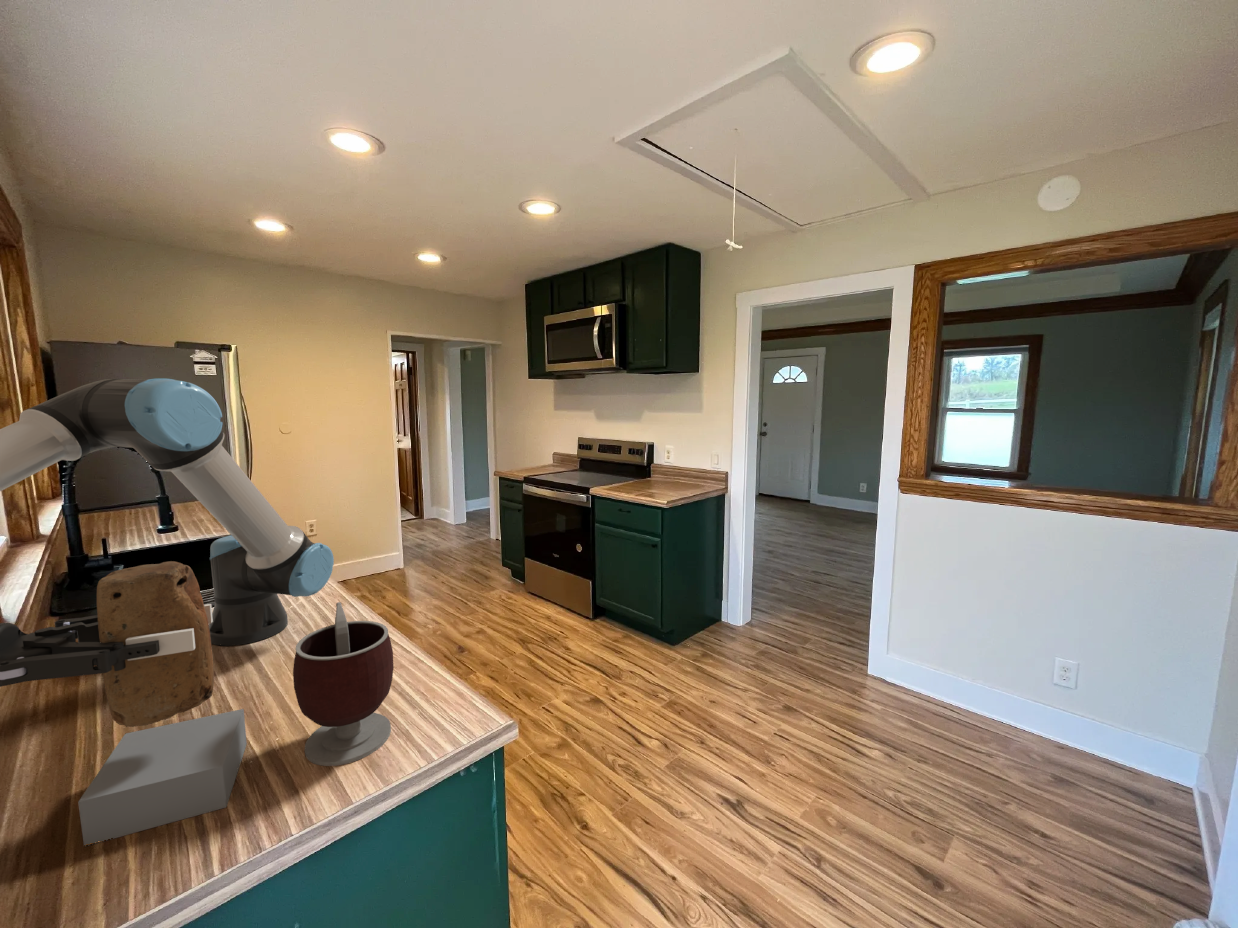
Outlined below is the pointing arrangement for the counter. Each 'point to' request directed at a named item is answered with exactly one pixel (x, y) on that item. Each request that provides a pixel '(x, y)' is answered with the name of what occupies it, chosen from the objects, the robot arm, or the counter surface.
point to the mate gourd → (344, 688)
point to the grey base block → (164, 776)
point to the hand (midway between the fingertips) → (202, 625)
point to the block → (153, 607)
